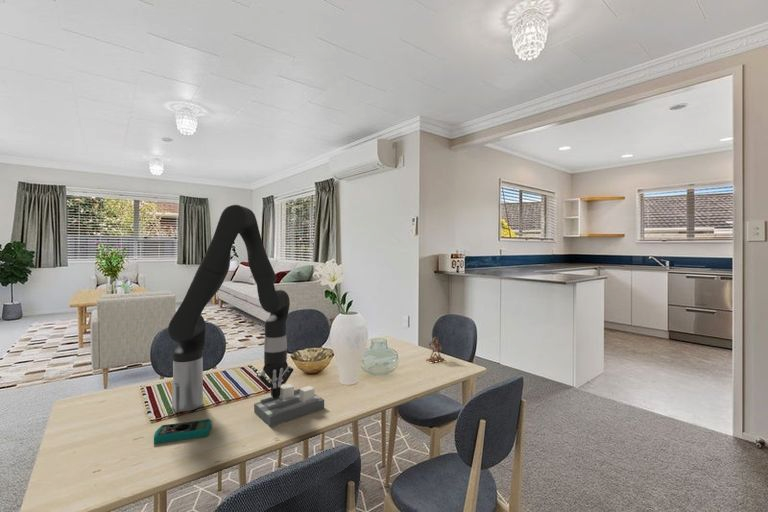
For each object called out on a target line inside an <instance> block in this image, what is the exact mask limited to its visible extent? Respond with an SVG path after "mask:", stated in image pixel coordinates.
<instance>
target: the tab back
mask: <svg viewBox="0 0 768 512" xmlns="http://www.w3.org/2000/svg"><path fill="white" fill-rule="evenodd" d="M294 390H295V386H294V385H293V384H291V383H287V384H282V385H281V387H280V396H279V398H281V399H282V400H284V399H287V398H291V397H294Z"/></svg>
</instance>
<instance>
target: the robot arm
mask: <svg viewBox="0 0 768 512" xmlns="http://www.w3.org/2000/svg"><path fill="white" fill-rule="evenodd" d="M238 235H240V237H241V239H242V240H243V243H244V245H245V248H246V252H247V253H246V255H247V261H248V267H249V271H250V272H251V275H252V277H253V279H254V281H255V283H256V290H257V296H258V301H259V305H260V306H261V308H262V309H263V310H264V311H265V312H266V313H269V314H270V315H269V317H268V318H267V319H266V320H265V322H264V323H265V324H264V342H263V345H264V346H263V347H264V348H263V352H264V353H263V359H264V360H263V363H264V365H263V368H262V371H261V372H260V373H257V374H256V377H257V378H258V380H259V381H261V382H262V383H263V384H264V385H265V386H266V387H267V388H268V389H270V397H271V396H272V397H273V398H274V399H275V398H279V396H280V387H281V386H283V385H286V383H287V382H288V380H289V378H290V377H291V375H292V374H293V371H294V368H293V367H291V366H290V365H289V364H288V361H287V359H288V352H287V351H288V349H287V348H288V342H287V341H288V339H287V319H288V316H289V310H290V305H291V304H290V303H291V302H290V297H289V294H288V293H287V292H286V291H285V290H282V289H278V290H276V288H275V283H276V282H277V279H278V278H277V275H276V273H275V271H274V268H273V266H272V263H271V261H270V260H269V257H268V254H267V252H266V249H265V246H264V243H263V240H262V237H261V233H260V230H259V225H258V221H257V218H256V214H255V213H254V211H253V210H251V208H248V207H245V206H242V205H239V204H235V203H234V204H233V203H232V204H230V205H229V204H228V206H226V207H225V208H224V209H223V211H222V213H220V217H219V219H218V222H217V226H216V228H215V231H214V233H213V237H212V239H211V242H210V244H209V245H208V247H207V249H206V251H205V254H204V256H203V258H202V260H201V262H200V264H199V266H198V268H197V270H196V272H195V274H194V276H193V278H192V281H191V283H190V285H189V287H188V290H187V292H186V294H185V296H184V298H183V301H181V304H180V305H179V307H178V309H177V310H176V311H175V313H174V315H173V317H172V318H171V320H170V321H169V324H168V326H167V327H168V328H167V331H168V332H167V333H168V336H169V338H170V339H171V340H172V341H173V342H175V343H177V346H176V348H175V349H174V350H173V352H172V380H171V407H172V409H173V410H174V412H175V413H178V412H179V413H180V412H182V413H183V412H189V411H193V410H196V409H198V408H200V407H201V406H202V405H203V404H204V387H203V386H204V385H203V383H204V381H203V380H204V378H203V377H204V373H203V368H204V367H203V366H204V365H203V363H204V362H203V358H204V357H203V355H204V354H203V352H204V349H205V347H206V346H205V345H206V321H205V318H204V316H203V315H202V313H203V310H204V309H205V307H206V306H207V304H208V303H209V302H210V301H211V300H212V299H213V297H215V295H216V294H217V292H218V291H219V290H220V288H221V286H222V285H223V284H224V281H225V279H226V277H227V275H228V274H229V273H228V272H229V270H230V266H231V265H230V264H231V253H232V247H233V245H234V243H235V241H236V239H237V237H238ZM266 376H268V380H269V381H268V380H267V378H266Z"/></svg>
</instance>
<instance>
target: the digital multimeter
mask: <svg viewBox="0 0 768 512" xmlns="http://www.w3.org/2000/svg"><path fill="white" fill-rule="evenodd" d="M211 428H212V420H211V419H209V418H208V419H207V418H206V419H200V420H193V421H187V422H186V421H185V422H176V423H169V424H167V423H166V424H162V425H160V427H158V428H157V429H156V430H155V432H154V434H153V444H154V445H157V444H163V443H171V442H177V441H183V440H190V439H191V440H192V439H198V438H199V439H200V438H206V437H208V436H209V434H210V432H211Z"/></svg>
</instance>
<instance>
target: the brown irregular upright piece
mask: <svg viewBox="0 0 768 512" xmlns="http://www.w3.org/2000/svg"><path fill="white" fill-rule="evenodd" d="M439 341H440V339H439V337H436V336H434V337H433V338H432V340H431V341H429V342H428V346H429V348H431V349H432V352H431V355H430V357H429V358H427V359H425V360H426V361H425V362H427V361H429V362H435V361H439V360H444V361H445V358H444V357H442V356H441V354H440V351H441V350H442V349H443V345H442V344H441V343H439ZM438 345H439V346H438ZM432 346H433V347H432ZM436 352H437V353H436ZM437 354H438V355H437ZM429 362H428V363H429ZM435 363H436V362H435Z"/></svg>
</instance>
